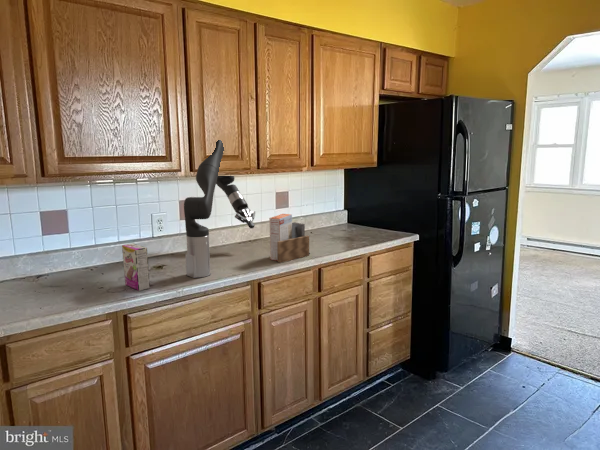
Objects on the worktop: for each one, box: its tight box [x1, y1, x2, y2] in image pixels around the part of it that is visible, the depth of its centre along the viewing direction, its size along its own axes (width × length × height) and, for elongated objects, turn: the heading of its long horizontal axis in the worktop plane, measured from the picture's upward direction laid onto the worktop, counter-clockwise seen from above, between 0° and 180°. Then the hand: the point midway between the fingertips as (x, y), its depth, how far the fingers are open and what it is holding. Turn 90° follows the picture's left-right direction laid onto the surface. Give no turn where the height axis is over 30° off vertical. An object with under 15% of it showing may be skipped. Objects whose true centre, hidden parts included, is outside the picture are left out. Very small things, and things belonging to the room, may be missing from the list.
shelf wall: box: [277, 235, 310, 264], centre depth 208 cm, size 20×2×10 cm, turn 135°
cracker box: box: [269, 213, 293, 262], centre depth 210 cm, size 14×6×21 cm, turn 156°
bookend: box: [292, 222, 311, 255], centre depth 217 cm, size 6×7×16 cm
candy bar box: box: [121, 242, 151, 292], centre depth 166 cm, size 11×5×16 cm, turn 48°
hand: (252, 227), depth 222 cm, fingers closed
